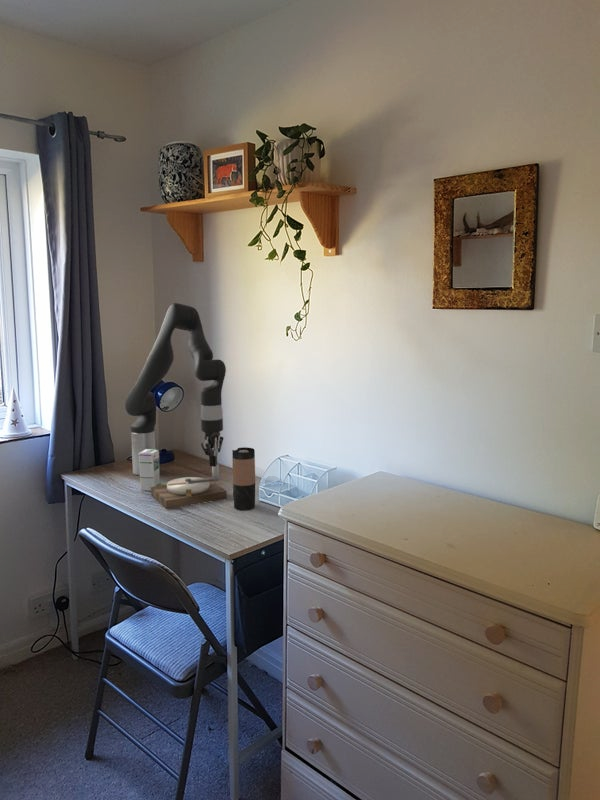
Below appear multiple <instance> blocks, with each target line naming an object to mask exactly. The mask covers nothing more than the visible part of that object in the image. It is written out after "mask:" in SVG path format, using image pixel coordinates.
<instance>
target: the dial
mask: <svg viewBox="0 0 600 800" xmlns="http://www.w3.org/2000/svg"><path fill="white" fill-rule="evenodd" d="M219 467H220V465H219V463H218V462H217V466H215V467H211V477H205V478H203V477H198V476H197V477H196V476H195V477H194V476H188V477H180V478H174V479H172V480H169V481H168V482H166V485H167V491H168V492H170V493H172V494H178V495H186V489H191V494H198V493H202V492H205V491H207V490H208V489H209V481H213V482H218V481H220V469H219Z"/></svg>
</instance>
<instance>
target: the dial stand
mask: <svg viewBox="0 0 600 800" xmlns="http://www.w3.org/2000/svg"><path fill="white" fill-rule="evenodd" d="M150 494H151V496H152V497H153V498H154V499H155V500H156V501H157V502H158V503H159V504H160V505H161V506H162V507H164V509H166V510H168V509H175V508H182V507H186V506H185V505H188V506H192V505H191V504H194V505H199V504H198V503H200V504H205V503H204V502H207V503H211V502H210V501H213V502H218V501H217V500H219V501H224V499H225V500H227V499H228V498H227V497H228V496H227V495H228V494H227V490H226V489H225V488H223V487H221V486H220V485H219V484H217V483H215V481H209V489H208V490H207V491H205V492H202V493H198V494H191V489H186V495H178V494H172V493H170V492H168V491H167V484H163V485H162V484H161V486H154V487H151V491H150ZM181 506H182V507H181Z"/></svg>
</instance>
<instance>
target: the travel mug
mask: <svg viewBox="0 0 600 800" xmlns="http://www.w3.org/2000/svg"><path fill="white" fill-rule="evenodd" d="M255 452H256V451H255V449H254V448H253V447H246V446H244V447H237V449H232V454H231V455H232V491H233V492H232V493H233V509H236V510H237V511H250V510H253V509H255V508H256V457H255V456H256V455H255Z"/></svg>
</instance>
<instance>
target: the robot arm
mask: <svg viewBox="0 0 600 800" xmlns="http://www.w3.org/2000/svg"><path fill="white" fill-rule="evenodd" d="M162 321H163V322H162V324H161V327H160V330H159V333H158V335H157V337H156V340H155V342H154V344H153V346H152V349H151V350H150V351H149V353H148V354H149V355H148V356H147V359H146V360H145V363H144V366H143V367H142V370H141V372H140V374H139V376H138V378H137V380H136V382H135V383H134V384H133V387H132V388H131V390H130V391H129V393H128V394H127V396H126V398H125V403H124V404H125V411H126V413H127V414H128V415H129V416H132V417H137V419H136V420H135V421H134V422H133V423H132V424H131V426H130V436H131V437H130V438H131V439H130V440H131V458H132V461H131V462H132V474H133V475H135V476H140V470H139V454H138V453H140V452H142V451H144V450H145V449H155V450H156V438H155V437H156V436H155V434H156V433H155V427H156V423H157V401H156V397H155V395H154V394H153V392H151V390H153V389H154V388H155V387H156V386H157V385H158V384H159V383H160V382H161V381H162V380H163V379H164V378H165V377H166V376H167V374H168V373H169V371H170V369H171V366H172V364H173V362H174V359H175V358H174V356H175V355H174V351H173V349H174V348H173V346H172V335H173V332H174V331H175V329H178V330H181V331H188V332H189V334H190V337H189V338H188V339H189V340H188V342H187V343H188V344H187V345H188V351H189V353H190V355H191V357H192V359H193V363H194V375H195V378H196V379H197V380H199V381H202V382H209V381H210V382H211V381H212V383H211V385H209V386H206V387H204V388H201V390H200V427H201V428H200V430H201V432H203V433H204V442H201V444H200V445H201V448H202V451H203V452H204V454H205V456H208V457H209V461H208V462H209V467H211V468H212V467H215V466H217V463H218V454H219V453H220V452H221V449H222V446H223V442H224V436H221V433H220V432H222V431H224V420H223V419H224V416H223V413H224V411H223V407H222V402H223V401H222V390H223V385H224V382H225V377H226V373H227V368H226V364H225V362H224V361H223V360H221V359H213V358H214V353H213V350H212V349H211V347H210V345H209V343H208V341H207V339H206V335H205V333H204V329H203V325H202V321H201V317H200V315H199V312H198V310H197V309H196V308H195V307H193V306H190V305H186V304H182V303H177V302H173V303H171V304H170V306H169V307H168V309H167V311H166V313H165V316H164V319H163V320H162Z"/></svg>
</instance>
